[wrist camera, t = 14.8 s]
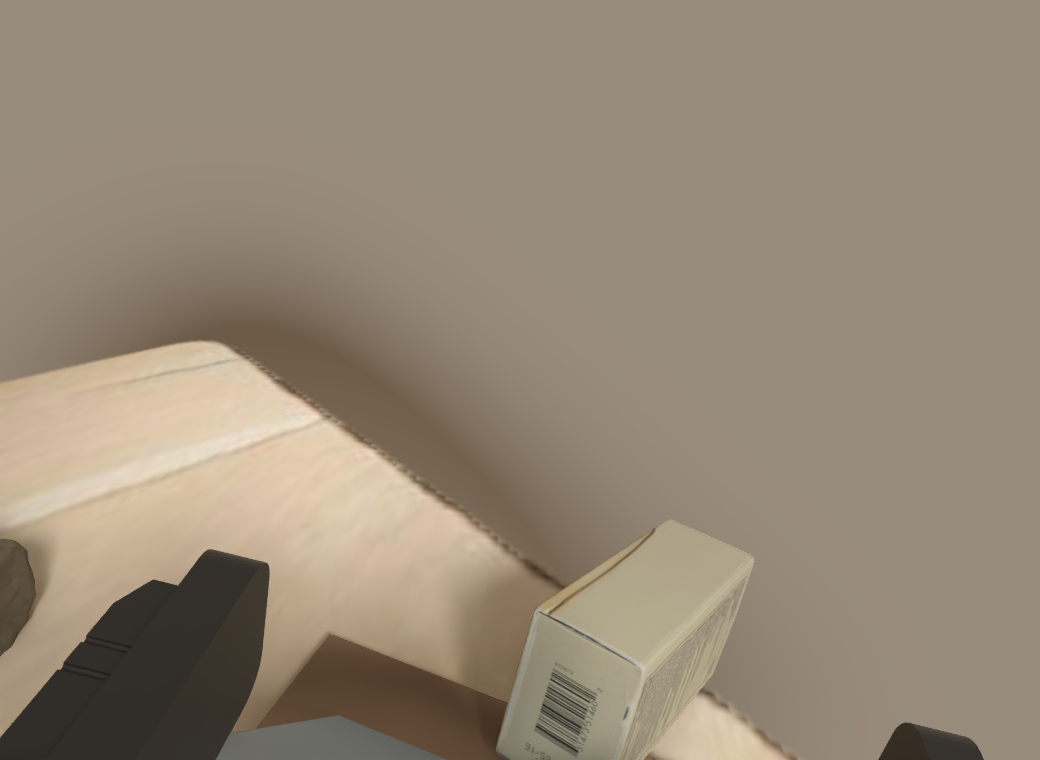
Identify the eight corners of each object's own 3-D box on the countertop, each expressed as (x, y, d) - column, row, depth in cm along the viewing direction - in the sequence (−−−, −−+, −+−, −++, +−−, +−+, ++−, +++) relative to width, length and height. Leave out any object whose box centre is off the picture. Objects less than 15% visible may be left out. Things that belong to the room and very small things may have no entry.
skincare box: (489, 755, 30) (625, 633, 41) (599, 827, 28) (713, 679, 39) (535, 599, 29) (665, 513, 39) (655, 665, 27) (758, 556, 37)
